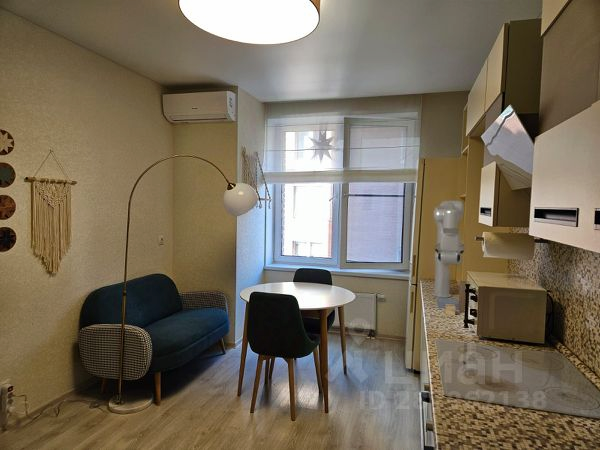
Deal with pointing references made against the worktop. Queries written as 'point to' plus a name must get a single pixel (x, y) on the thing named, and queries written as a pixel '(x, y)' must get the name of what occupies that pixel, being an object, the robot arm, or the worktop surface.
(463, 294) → the wooden block
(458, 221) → the robot arm
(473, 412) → the worktop surface
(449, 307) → the oak cube
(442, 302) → the slate base block
